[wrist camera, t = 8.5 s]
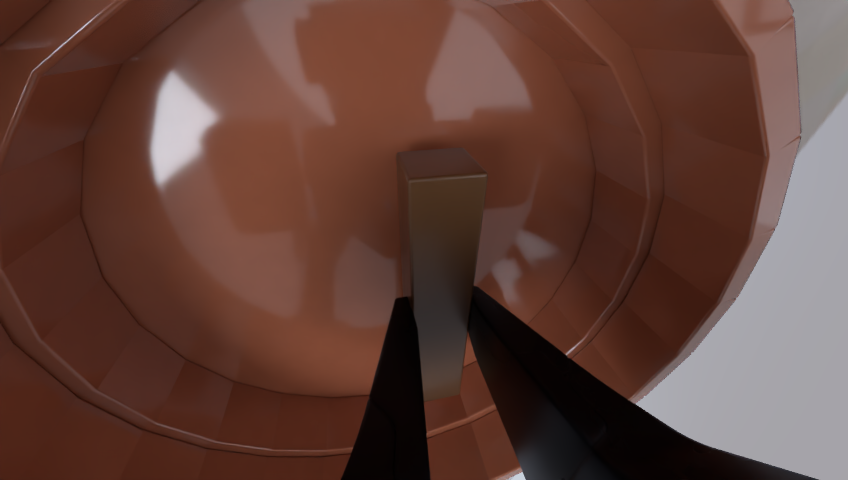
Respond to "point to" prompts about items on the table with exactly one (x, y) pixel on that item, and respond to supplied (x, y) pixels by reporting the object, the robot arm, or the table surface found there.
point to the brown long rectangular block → (440, 256)
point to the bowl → (357, 211)
